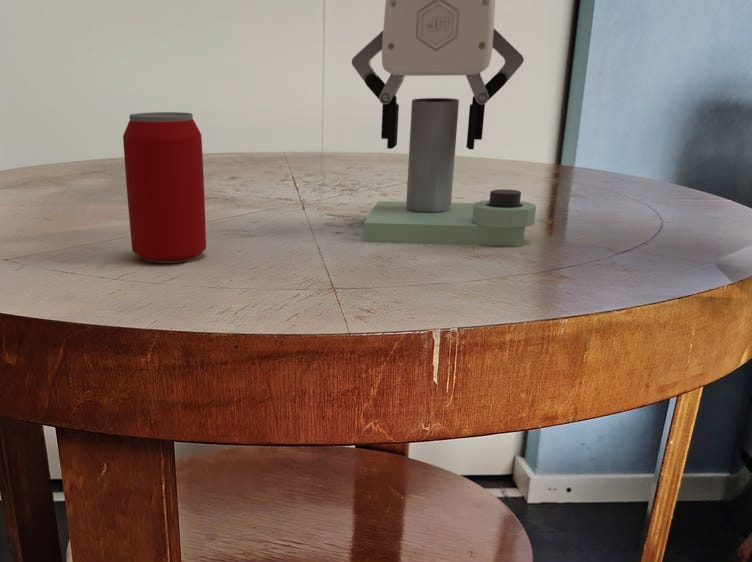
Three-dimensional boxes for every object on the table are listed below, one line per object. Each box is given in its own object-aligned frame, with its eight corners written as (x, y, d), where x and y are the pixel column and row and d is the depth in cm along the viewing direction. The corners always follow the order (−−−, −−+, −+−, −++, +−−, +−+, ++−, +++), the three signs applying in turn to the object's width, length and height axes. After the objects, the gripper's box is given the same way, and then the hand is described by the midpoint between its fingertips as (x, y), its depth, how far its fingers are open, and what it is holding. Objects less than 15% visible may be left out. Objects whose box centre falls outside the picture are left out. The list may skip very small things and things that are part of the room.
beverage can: (184, 247, 86) (177, 110, 80) (220, 259, 81) (215, 114, 75) (120, 255, 83) (107, 114, 77) (153, 269, 78) (142, 118, 72)
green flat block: (526, 223, 95) (530, 188, 94) (532, 249, 83) (537, 210, 82) (377, 219, 98) (378, 185, 97) (361, 244, 86) (363, 206, 85)
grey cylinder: (459, 208, 92) (468, 98, 88) (433, 214, 89) (441, 101, 85) (423, 204, 95) (430, 97, 90) (397, 209, 92) (402, 99, 88)
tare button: (518, 206, 86) (520, 189, 85) (519, 211, 83) (521, 194, 83) (488, 206, 86) (490, 189, 86) (488, 210, 84) (490, 193, 83)
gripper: (343, -64, 79) (338, 150, 88) (546, -71, 76) (522, 152, 84) (354, -56, 86) (348, 143, 94) (541, -63, 83) (519, 144, 91)
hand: (430, 146), depth 89 cm, fingers open, 7 cm apart
